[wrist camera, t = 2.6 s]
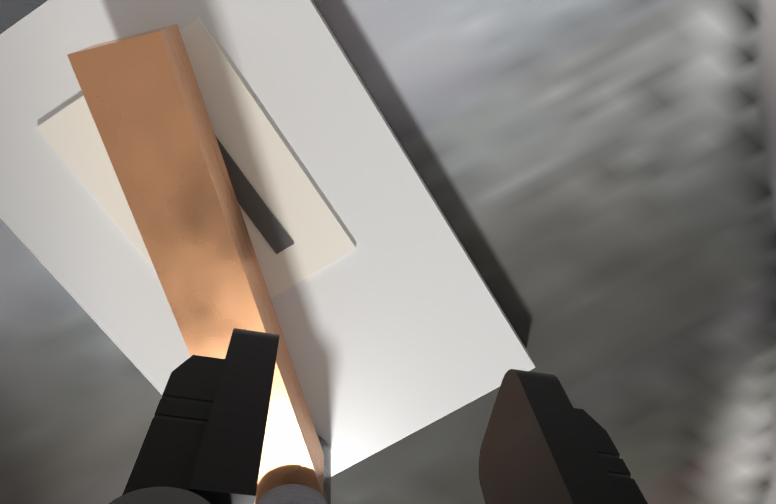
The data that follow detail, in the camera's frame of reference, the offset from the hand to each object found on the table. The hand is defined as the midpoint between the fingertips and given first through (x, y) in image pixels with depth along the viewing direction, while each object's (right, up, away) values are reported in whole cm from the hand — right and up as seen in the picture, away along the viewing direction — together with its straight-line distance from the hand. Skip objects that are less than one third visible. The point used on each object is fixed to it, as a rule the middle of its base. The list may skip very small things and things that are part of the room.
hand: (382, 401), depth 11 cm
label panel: (-5, +3, +17) cm, 18 cm away
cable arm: (-6, +1, +16) cm, 17 cm away
